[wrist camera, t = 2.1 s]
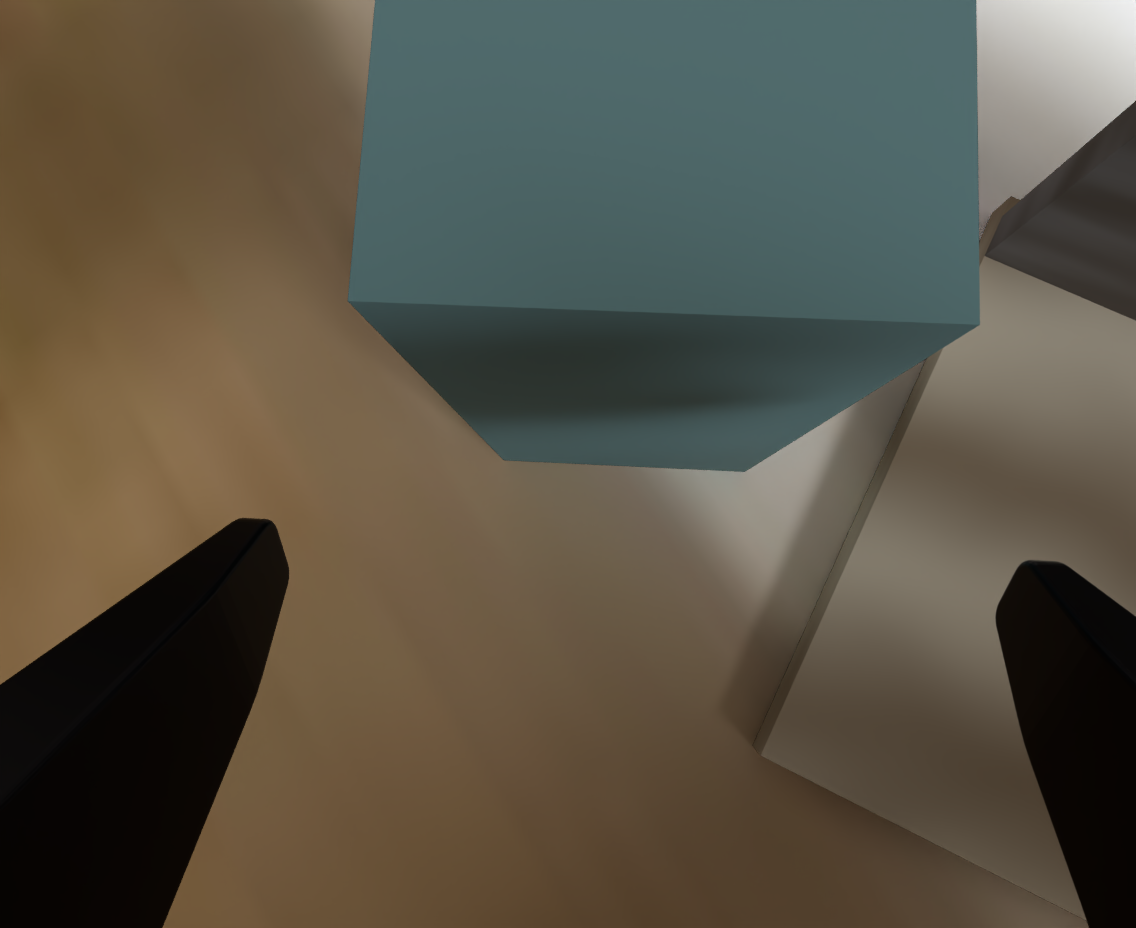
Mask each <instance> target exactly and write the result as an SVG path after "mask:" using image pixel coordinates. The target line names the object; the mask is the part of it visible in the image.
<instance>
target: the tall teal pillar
mask: <svg viewBox="0 0 1136 928" xmlns="http://www.w3.org/2000/svg"><path fill="white" fill-rule="evenodd" d="M348 302H349V303H350V304H351V305H352V306H353V307H354V308H355V309H356V310H357V311H358V312H359V313H360V314H361V315H362V316H363V317H364V318H365V319H366V320H367V321H368V322H369V323H370V324H371V325H372V326H373V327H374V328H375V329H376V330H377V331H378V332H379V333H380V334H381V335H382V336H383V337H384V339H385V340H386V341H387V342H388V343H389V344H390V345H391V346H392V347H393V348H394V349H395V350H396V351H397V352H398V353H399V354H400V355H401V356H402V357H403V358H404V359H405V360H406V361H407V362H408V363H409V364H410V365H411V366H412V367H413V368H414V369H415V370H416V371H417V372H418V373H419V374H420V375H421V376H422V377H423V378H424V379H425V380H426V381H427V382H428V383H429V384H430V385H431V386H432V387H433V388H434V389H435V391H436V392H437V393H438V394H439V395H440V396H441V397H442V398H443V399H444V400H445V401H446V402H447V403H448V404H449V405H450V406H451V407H452V408H453V409H454V410H455V411H456V412H457V413H458V414H459V415H460V416H461V417H462V418H463V419H464V420H465V421H466V422H467V423H468V424H469V425H470V426H471V427H472V428H473V429H474V430H475V431H476V432H477V433H478V434H479V435H480V436H481V437H482V438H483V439H484V440H485V441H486V442H487V444H488V445H489V446H490V447H491V448H492V449H493V450H494V451H495V452H496V453H497V454H498V455H499V456H500V457H501V458H502V459H503V460H509V461H530V462H551V463H572V464H593V465H614V466H635V467H656V468H677V469H698V470H719V471H740V472H745V471H747V470H748V469H750V468H752V467H753V466H755V465H756V464H758V463H760V462H761V461H763V460H764V459H766V458H768V457H769V456H771V455H772V454H774V453H776V452H777V451H779V450H780V449H782V448H784V447H785V446H787V445H788V444H790V443H792V442H793V441H795V440H796V439H798V438H800V437H801V436H803V435H804V434H806V433H808V432H809V431H811V430H812V429H814V428H816V427H817V426H819V425H820V424H822V423H824V422H825V421H827V420H828V419H830V418H832V417H833V416H835V415H836V414H838V413H840V412H841V411H843V410H844V409H846V408H848V407H849V406H851V405H852V404H854V403H856V402H857V401H859V400H860V399H862V398H864V397H865V396H867V395H868V394H870V393H872V392H873V391H875V390H876V389H878V388H880V387H881V386H883V385H884V384H886V383H888V382H889V381H891V380H892V379H894V378H896V377H897V376H899V375H900V374H902V373H904V372H905V371H907V370H908V369H910V368H912V367H913V366H915V365H916V364H918V363H920V362H921V361H923V360H924V359H926V358H928V357H929V356H931V355H932V354H934V353H936V352H937V351H939V350H940V349H942V348H944V347H945V346H947V345H948V344H950V343H952V342H953V341H955V340H956V339H958V338H960V337H961V336H963V335H964V334H966V333H968V332H969V331H971V330H973V329H974V328H976V327H977V326H979V325H980V283H979V200H978V116H977V33H976V0H375V8H374V19H373V30H372V41H371V52H370V63H369V74H368V85H367V96H366V107H365V118H364V129H363V140H362V151H361V162H360V173H359V184H358V195H357V205H356V216H355V227H354V238H353V249H352V260H351V271H350V282H349V293H348Z"/></svg>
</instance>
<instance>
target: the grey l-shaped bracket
mask: <svg viewBox="0 0 1136 928" xmlns="http://www.w3.org/2000/svg"><path fill="white" fill-rule="evenodd" d="M979 283H980V325H979V326H977V327H976V328H974V329H973V330H971V331H969V332H968V333H966V334H964V335H963V336H961V337H960V338H958V339H956V340H955V341H953V342H952V343H950V344H948V345H947V346H945V347H944V348H942V349H940V350H939V351H937V352H936V353H934V354H932V355H931V356H929V357H928V358H927V359H926V361H925V364H924V366H923V368H922V370H921V373H920V375H919V377H918V379H917V381H916V384H915V386H914V388H913V390H912V393H911V395H910V397H909V399H908V402H907V404H906V406H905V408H904V410H903V413H902V415H901V417H900V419H899V422H898V424H897V426H896V428H895V430H894V433H893V435H892V437H891V439H890V442H889V444H888V446H887V448H886V450H885V453H884V455H883V457H882V459H881V462H880V464H879V466H878V468H877V470H876V473H875V475H874V477H873V479H872V482H871V484H870V486H869V488H868V490H867V493H866V495H865V497H864V499H863V502H862V504H861V506H860V508H859V511H858V513H857V515H856V517H855V519H854V522H853V524H852V526H851V528H850V531H849V533H848V535H847V537H846V539H845V542H844V544H843V546H842V548H841V551H840V553H839V555H838V557H837V559H836V562H835V564H834V566H833V568H832V571H831V573H830V575H829V577H828V579H827V582H826V584H825V586H824V588H823V591H822V593H821V595H820V597H819V599H818V602H817V604H816V606H815V608H814V611H813V613H812V615H811V617H810V620H809V622H808V624H807V626H806V628H805V631H804V633H803V635H802V637H801V640H800V642H799V644H798V646H797V648H796V651H795V653H794V655H793V657H792V660H791V662H790V664H789V666H788V668H787V671H786V673H785V675H784V677H783V680H782V682H781V684H780V686H779V688H778V691H777V693H776V695H775V697H774V700H773V702H772V704H771V706H770V708H769V711H768V713H767V715H766V717H765V720H764V722H763V724H762V726H761V729H760V731H759V733H758V735H757V737H756V740H755V742H754V744H753V747H754V748H755V749H756V751H757V752H758V753H759V754H760V756H762V757H764V758H766V759H768V760H770V761H772V762H774V763H776V764H778V765H780V766H782V767H784V768H786V769H788V770H790V771H792V772H794V773H796V774H798V775H800V776H802V777H804V778H806V779H808V780H810V781H812V782H814V783H816V784H818V785H819V786H821V787H823V788H825V789H827V790H829V791H831V792H833V793H835V794H837V795H839V796H841V797H843V798H845V799H847V800H849V801H851V802H853V803H855V804H857V805H859V806H861V807H863V808H865V809H867V810H869V811H871V812H873V813H875V814H877V815H879V816H881V817H883V818H885V819H887V820H889V821H891V822H892V823H894V824H896V825H898V826H900V827H902V828H904V829H906V830H908V831H910V832H912V833H914V834H916V835H918V836H920V837H922V838H924V839H926V840H928V841H930V842H932V843H934V844H936V845H938V846H940V847H942V848H944V849H946V850H948V851H950V852H952V853H954V854H956V855H958V856H960V857H962V858H964V859H966V860H967V861H969V862H971V863H973V864H975V865H977V866H979V867H981V868H983V869H985V870H987V871H989V872H991V873H993V874H995V875H997V876H999V877H1001V878H1003V879H1005V880H1007V881H1009V882H1011V883H1013V884H1015V885H1017V886H1019V887H1021V888H1023V889H1025V890H1027V891H1029V892H1031V893H1033V894H1035V895H1037V896H1039V897H1040V898H1042V899H1044V900H1046V901H1048V902H1050V903H1052V904H1054V905H1056V906H1058V907H1060V908H1062V909H1064V910H1066V911H1068V912H1070V913H1072V914H1074V915H1076V916H1078V917H1080V918H1082V919H1084V920H1086V917H1085V914H1084V911H1083V909H1082V906H1081V903H1080V900H1079V897H1078V895H1077V892H1076V889H1075V886H1074V883H1073V881H1072V878H1071V875H1070V872H1069V869H1068V867H1067V864H1066V861H1065V858H1064V855H1063V853H1062V850H1061V847H1060V844H1059V841H1058V839H1057V836H1056V833H1055V830H1054V827H1053V825H1052V822H1051V819H1050V816H1049V813H1048V811H1047V808H1046V805H1045V802H1044V799H1043V797H1042V794H1041V791H1040V788H1039V785H1038V783H1037V780H1036V777H1035V774H1034V771H1033V769H1032V766H1031V763H1030V760H1029V757H1028V754H1027V751H1026V748H1025V745H1024V741H1023V737H1022V734H1021V730H1020V726H1019V722H1018V718H1017V714H1016V709H1015V705H1014V701H1013V697H1012V692H1011V688H1010V684H1009V679H1008V675H1007V671H1006V666H1005V662H1004V658H1003V654H1002V649H1001V645H1000V641H999V636H998V632H997V628H996V619H995V616H996V609H997V606H998V603H999V601H1000V599H1001V597H1002V595H1003V594H1004V592H1005V590H1006V588H1007V586H1008V584H1009V582H1010V580H1011V578H1012V576H1013V574H1014V573H1015V571H1016V569H1017V567H1018V566H1019V565H1020V564H1021V563H1022V562H1024V561H1026V560H1043V561H1057V562H1061V563H1064V564H1066V565H1067V566H1069V567H1070V568H1071V569H1073V570H1074V571H1076V572H1077V573H1078V574H1080V575H1081V576H1082V577H1084V578H1085V579H1086V580H1088V581H1089V582H1090V583H1092V584H1093V585H1094V586H1096V587H1097V588H1098V589H1100V590H1101V591H1102V592H1104V593H1105V594H1106V595H1108V596H1109V597H1111V598H1112V599H1113V600H1115V601H1116V602H1117V603H1119V604H1120V605H1121V606H1123V607H1124V608H1125V609H1127V610H1128V611H1129V612H1131V613H1132V614H1133V615H1135V616H1136V101H1135V102H1134V103H1133V104H1132V105H1131V106H1129V107H1128V108H1127V109H1126V110H1125V111H1124V112H1122V113H1121V114H1120V115H1119V116H1118V117H1117V118H1115V119H1114V120H1113V121H1112V122H1111V123H1110V124H1109V125H1107V126H1106V127H1105V128H1104V129H1103V130H1102V131H1100V132H1099V133H1098V134H1097V135H1096V136H1095V137H1093V138H1092V139H1091V140H1090V141H1089V142H1088V143H1086V144H1085V145H1084V146H1083V147H1082V148H1081V149H1080V150H1078V151H1077V152H1076V153H1075V154H1074V155H1073V156H1071V157H1070V158H1069V159H1068V160H1067V161H1066V162H1064V163H1063V164H1062V165H1061V166H1060V167H1059V168H1057V169H1056V170H1055V171H1054V172H1053V173H1052V174H1051V175H1049V176H1048V177H1047V178H1046V179H1045V180H1044V181H1042V182H1041V183H1040V184H1039V185H1038V186H1037V187H1035V188H1034V189H1033V190H1032V191H1031V192H1030V193H1029V194H1027V195H1026V196H1025V197H1024V198H1023V199H1022V200H1019V199H1016V198H1014V197H1012V196H1011V197H1010V198H1009V199H1008V200H1006V201H1005V202H1004V203H1003V204H1002V205H1001V206H1000V207H999V208H998V209H996V210H995V211H994V212H993V213H992V215H991V217H990V219H989V221H988V224H987V226H986V228H985V230H984V232H983V235H982V237H981V239H980V241H979ZM1086 921H1087V920H1086Z"/></svg>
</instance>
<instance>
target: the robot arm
mask: <svg viewBox="0 0 1136 928" xmlns="http://www.w3.org/2000/svg"><path fill="white" fill-rule="evenodd" d="M288 580H289V567H288V562H287V559H286V556H285V553H284V550H283V546H282V543H281V540H280V537H279V534H278V530H277V528H276V526H275V524H274V523H273V522H272V521H271V520H268V519H254V518H240V519H237V520H235V521H233V522H232V523H230V524H229V525H227V526H226V527H224V528H223V529H222V530H220V531H219V532H217V533H216V534H214V535H213V536H212V537H210V538H209V539H207V540H206V541H204V542H203V543H202V544H200V545H199V546H197V547H196V548H194V549H193V550H192V551H190V552H189V553H187V554H186V555H184V556H183V557H182V558H180V559H179V560H177V561H176V562H174V563H173V564H172V565H170V566H169V567H167V568H166V569H165V570H163V571H162V572H160V573H159V574H157V575H156V576H155V577H153V578H152V579H150V580H149V581H147V582H146V583H145V584H143V585H142V586H140V587H139V588H137V589H136V590H135V591H133V592H132V593H130V594H129V595H127V596H126V597H125V598H123V599H122V600H120V601H119V602H117V603H116V604H115V605H113V606H112V607H110V608H109V609H107V610H106V611H105V612H103V613H102V614H100V615H99V616H98V617H96V618H95V619H93V620H92V621H90V622H89V623H88V624H86V625H85V626H83V627H82V628H80V629H79V630H78V631H76V632H75V633H73V634H72V635H70V636H69V637H68V638H66V639H65V640H63V641H62V642H60V643H59V644H58V645H56V646H55V647H53V648H52V649H50V650H49V651H48V652H46V653H45V654H43V655H42V656H40V657H39V658H38V659H36V660H35V661H33V662H32V663H31V664H29V665H28V666H26V667H25V668H23V669H22V670H21V671H19V672H18V673H16V674H15V675H13V676H12V677H11V678H9V679H8V680H6V681H5V682H3V683H2V684H1V685H0V928H162V927H163V925H164V922H165V920H166V918H167V915H168V913H169V910H170V908H171V905H172V903H173V900H174V898H175V895H176V893H177V890H178V888H179V886H180V883H181V881H182V878H183V876H184V873H185V871H186V868H187V866H188V863H189V861H190V858H191V856H192V854H193V851H194V849H195V846H196V844H197V841H198V839H199V836H200V834H201V831H202V829H203V826H204V824H205V822H206V819H207V817H208V814H209V812H210V809H211V807H212V804H213V802H214V799H215V797H216V794H217V792H218V790H219V787H220V785H221V782H222V780H223V777H224V775H225V772H226V770H227V767H228V765H229V762H230V760H231V758H232V755H233V753H234V750H235V748H236V745H237V743H238V740H239V738H240V735H241V733H242V730H243V728H244V726H245V723H246V721H247V718H248V716H249V713H250V711H251V708H252V705H253V703H254V700H255V697H256V695H257V692H258V689H259V685H260V682H261V679H262V676H263V672H264V668H265V665H266V661H267V658H268V654H269V650H270V647H271V643H272V640H273V636H274V632H275V629H276V625H277V622H278V618H279V614H280V611H281V607H282V604H283V600H284V596H285V593H286V589H287V586H288ZM995 619H996V628H997V632H998V636H999V641H1000V645H1001V649H1002V654H1003V658H1004V662H1005V666H1006V671H1007V675H1008V679H1009V684H1010V688H1011V692H1012V697H1013V701H1014V705H1015V709H1016V714H1017V718H1018V722H1019V726H1020V730H1021V734H1022V737H1023V741H1024V745H1025V748H1026V751H1027V754H1028V757H1029V760H1030V763H1031V766H1032V769H1033V771H1034V774H1035V777H1036V780H1037V783H1038V785H1039V788H1040V791H1041V794H1042V797H1043V799H1044V802H1045V805H1046V808H1047V811H1048V813H1049V816H1050V819H1051V822H1052V825H1053V827H1054V830H1055V833H1056V836H1057V839H1058V841H1059V844H1060V847H1061V850H1062V853H1063V855H1064V858H1065V861H1066V864H1067V867H1068V869H1069V872H1070V875H1071V878H1072V881H1073V883H1074V886H1075V889H1076V892H1077V895H1078V897H1079V900H1080V903H1081V906H1082V909H1083V911H1084V914H1085V917H1086V920H1087V923H1088V925H1089V928H1136V616H1135V615H1133V614H1132V613H1131V612H1129V611H1128V610H1127V609H1125V608H1124V607H1123V606H1121V605H1120V604H1119V603H1117V602H1116V601H1115V600H1113V599H1112V598H1111V597H1109V596H1108V595H1106V594H1105V593H1104V592H1102V591H1101V590H1100V589H1098V588H1097V587H1096V586H1094V585H1093V584H1092V583H1090V582H1089V581H1088V580H1086V579H1085V578H1084V577H1082V576H1081V575H1080V574H1078V573H1077V572H1076V571H1074V570H1073V569H1071V568H1070V567H1069V566H1067V565H1066V564H1064V563H1061V562H1057V561H1043V560H1026V561H1024V562H1022V563H1021V564H1020V565H1019V566H1018V567H1017V569H1016V571H1015V573H1014V574H1013V576H1012V578H1011V580H1010V582H1009V584H1008V586H1007V588H1006V590H1005V592H1004V594H1003V595H1002V597H1001V599H1000V601H999V603H998V606H997V609H996V616H995Z"/></svg>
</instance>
